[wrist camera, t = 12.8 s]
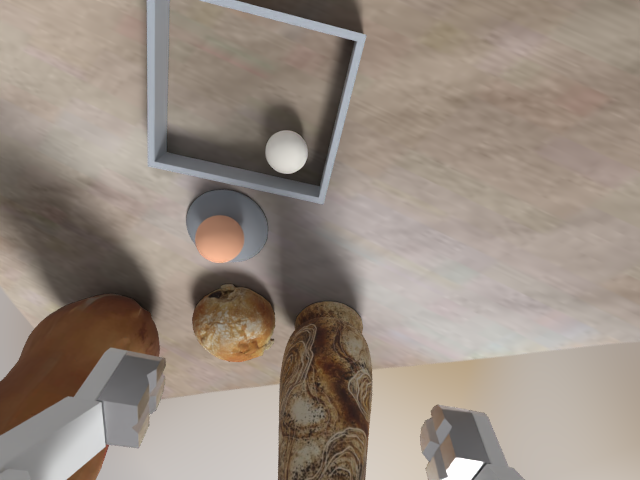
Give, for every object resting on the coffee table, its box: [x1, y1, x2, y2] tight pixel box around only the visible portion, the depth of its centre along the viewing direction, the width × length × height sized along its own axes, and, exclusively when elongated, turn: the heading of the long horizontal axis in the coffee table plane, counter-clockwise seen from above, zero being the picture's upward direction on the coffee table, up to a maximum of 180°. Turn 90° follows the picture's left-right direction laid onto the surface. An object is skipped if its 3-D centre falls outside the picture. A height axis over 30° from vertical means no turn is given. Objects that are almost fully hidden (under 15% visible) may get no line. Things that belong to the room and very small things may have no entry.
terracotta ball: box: [195, 215, 244, 263], centre depth 39 cm, size 5×5×5 cm
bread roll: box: [192, 284, 275, 362], centre depth 46 cm, size 10×10×8 cm
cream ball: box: [265, 130, 308, 174], centre depth 35 cm, size 4×4×4 cm
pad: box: [186, 189, 268, 262], centre depth 41 cm, size 9×9×1 cm
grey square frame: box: [147, 0, 366, 204], centre depth 33 cm, size 17×15×3 cm
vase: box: [278, 301, 372, 480], centre depth 36 cm, size 10×11×30 cm
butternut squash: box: [0, 294, 160, 480], centre depth 37 cm, size 14×13×25 cm
